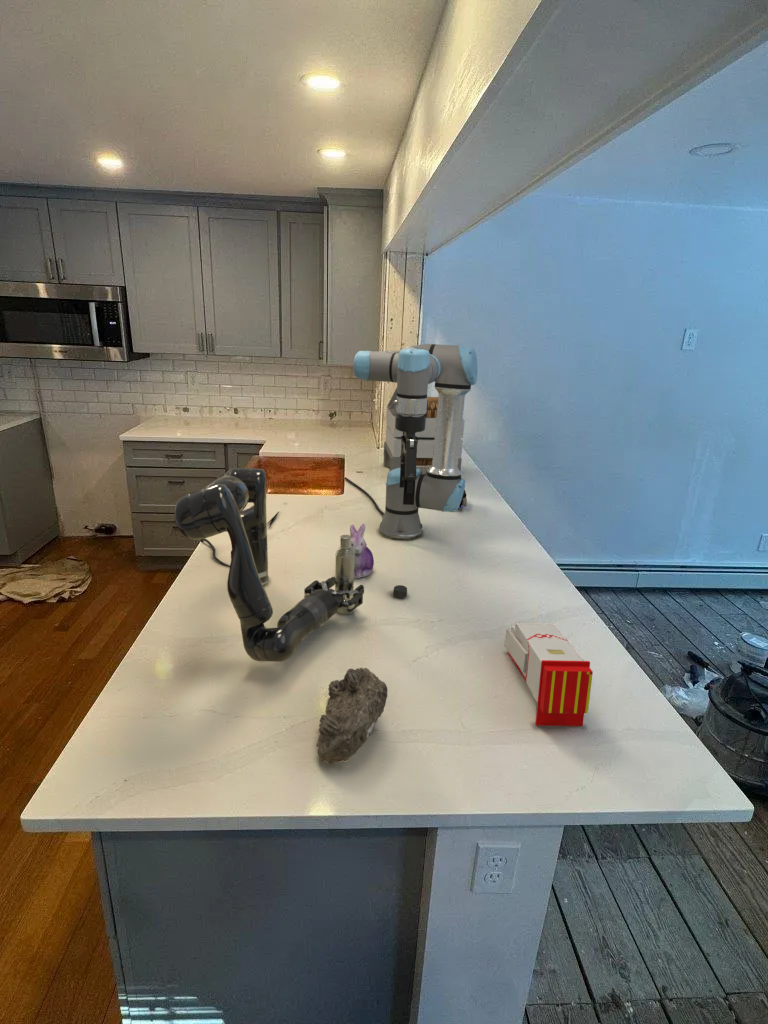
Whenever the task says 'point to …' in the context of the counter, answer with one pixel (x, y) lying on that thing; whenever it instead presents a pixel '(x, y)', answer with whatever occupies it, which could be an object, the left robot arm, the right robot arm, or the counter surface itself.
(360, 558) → the figurine
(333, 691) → the fossil
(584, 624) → the counter surface
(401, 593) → the cap
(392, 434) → the grey wooden crate
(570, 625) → the counter surface
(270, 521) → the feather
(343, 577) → the bottle
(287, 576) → the counter surface
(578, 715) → the toy
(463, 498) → the figurine character
